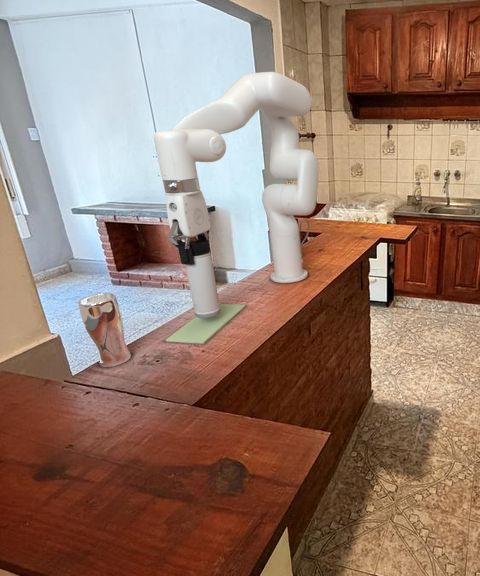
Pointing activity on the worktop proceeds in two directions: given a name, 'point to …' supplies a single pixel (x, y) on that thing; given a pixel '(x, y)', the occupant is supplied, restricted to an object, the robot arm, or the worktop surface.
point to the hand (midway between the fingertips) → (196, 259)
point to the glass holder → (300, 230)
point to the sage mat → (205, 326)
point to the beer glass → (105, 328)
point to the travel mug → (202, 281)
